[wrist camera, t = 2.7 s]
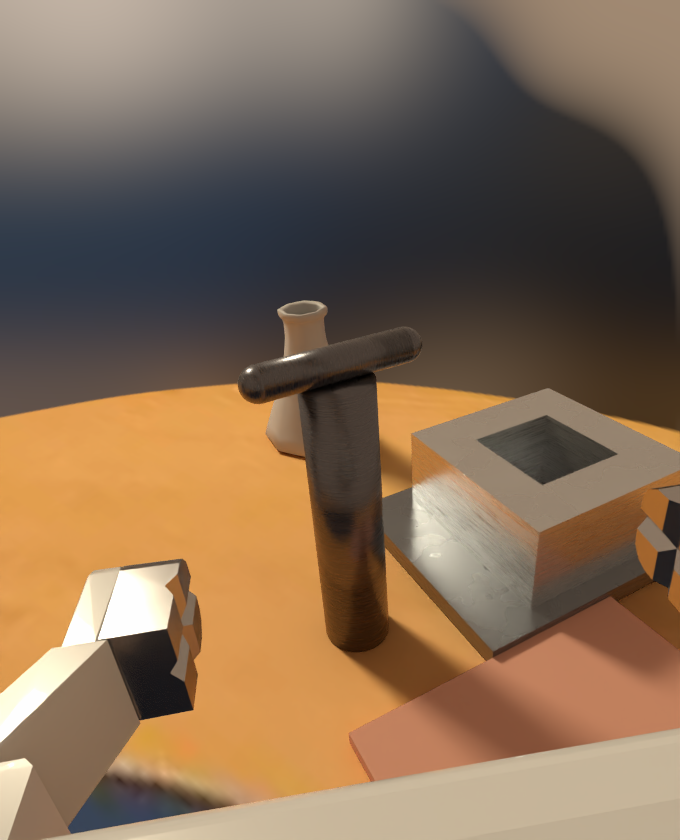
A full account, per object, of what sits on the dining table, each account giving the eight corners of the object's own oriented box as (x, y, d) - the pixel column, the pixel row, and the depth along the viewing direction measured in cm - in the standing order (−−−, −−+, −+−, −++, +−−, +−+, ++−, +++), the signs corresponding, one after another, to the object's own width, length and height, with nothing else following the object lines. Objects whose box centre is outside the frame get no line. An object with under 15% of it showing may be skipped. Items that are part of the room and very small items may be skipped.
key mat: (527, 1066, 15) (528, 1058, 15) (349, 742, 23) (348, 732, 23) (844, 795, 20) (850, 784, 20) (608, 605, 28) (610, 596, 28)
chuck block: (491, 667, 26) (498, 572, 23) (361, 519, 35) (355, 441, 33) (731, 540, 32) (758, 452, 29) (563, 443, 41) (572, 370, 39)
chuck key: (298, 683, 26) (250, 386, 19) (274, 635, 28) (223, 357, 21) (439, 616, 28) (441, 335, 22) (406, 578, 31) (398, 313, 24)
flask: (383, 431, 45) (377, 303, 40) (310, 472, 40) (294, 334, 36) (320, 403, 49) (308, 286, 45) (249, 437, 45) (228, 312, 41)
